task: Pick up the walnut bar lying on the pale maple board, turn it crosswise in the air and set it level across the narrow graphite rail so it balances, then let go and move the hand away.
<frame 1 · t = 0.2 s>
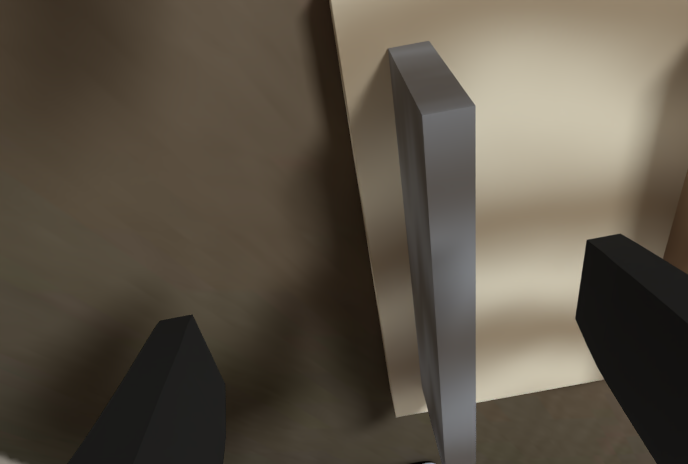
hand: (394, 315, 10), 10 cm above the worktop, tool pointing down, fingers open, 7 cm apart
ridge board: (564, 203, 22), on the worktop
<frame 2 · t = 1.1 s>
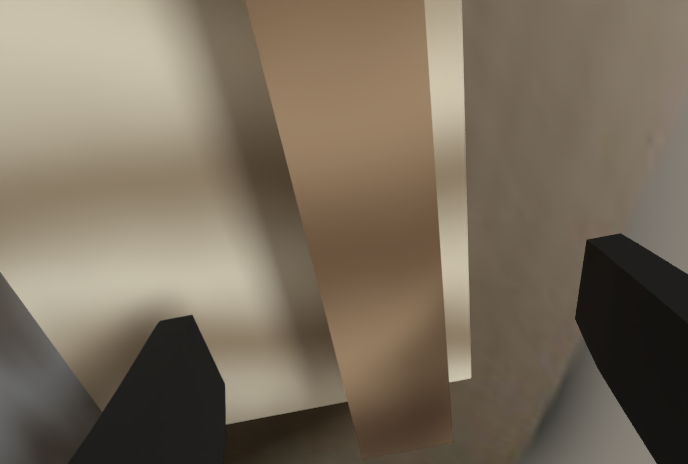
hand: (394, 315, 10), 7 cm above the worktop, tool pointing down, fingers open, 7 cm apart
walnut bar: (355, 167, 15), point 1 cm above the worktop, touching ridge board
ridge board: (180, 174, 16), on the worktop
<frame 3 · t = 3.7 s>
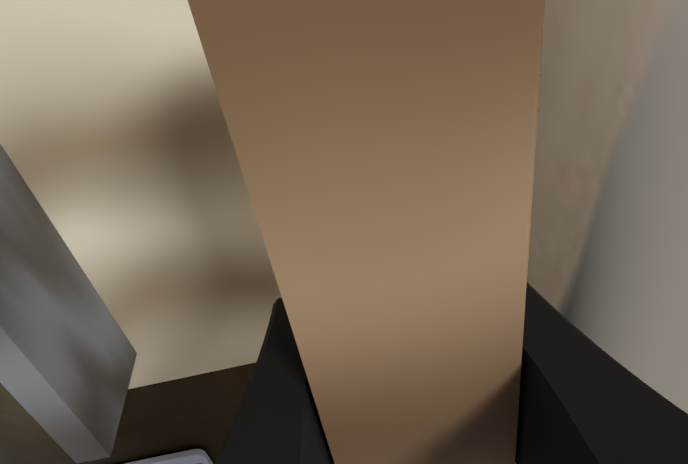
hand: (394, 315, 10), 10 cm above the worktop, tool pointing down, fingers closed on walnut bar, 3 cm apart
walnut bar: (384, 274, 11), point 9 cm above the worktop, touching gripper
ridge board: (202, 131, 18), on the worktop
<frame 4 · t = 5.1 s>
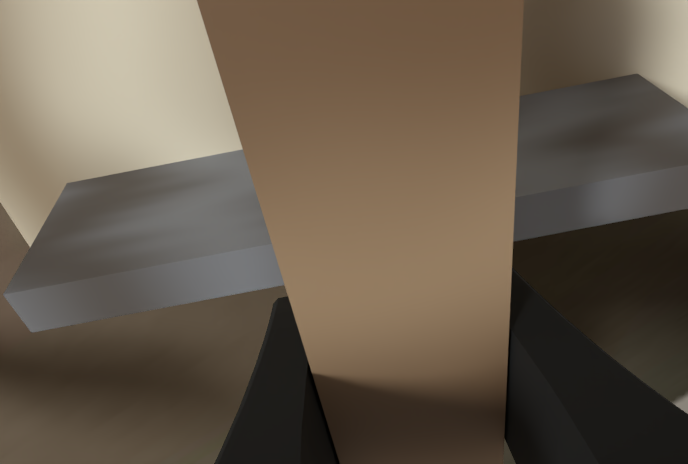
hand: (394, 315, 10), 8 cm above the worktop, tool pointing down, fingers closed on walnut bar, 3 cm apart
walnut bar: (382, 274, 12), point 7 cm above the worktop, touching gripper
when the fingers open (8 cm above the worktop, at t = 5.5 s): walnut bar stays where it is, resting on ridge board.
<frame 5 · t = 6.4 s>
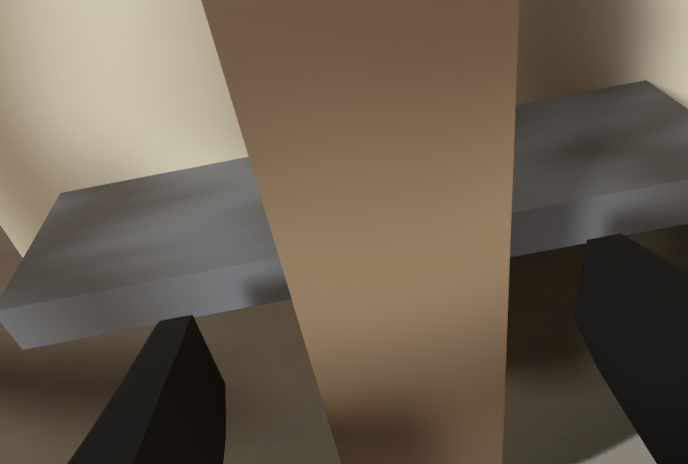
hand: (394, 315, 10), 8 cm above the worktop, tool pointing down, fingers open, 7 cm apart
walnut bar: (382, 271, 12), point 6 cm above the worktop, touching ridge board
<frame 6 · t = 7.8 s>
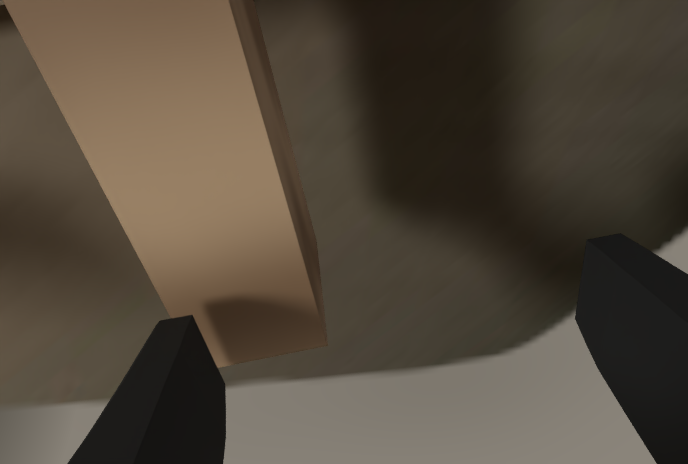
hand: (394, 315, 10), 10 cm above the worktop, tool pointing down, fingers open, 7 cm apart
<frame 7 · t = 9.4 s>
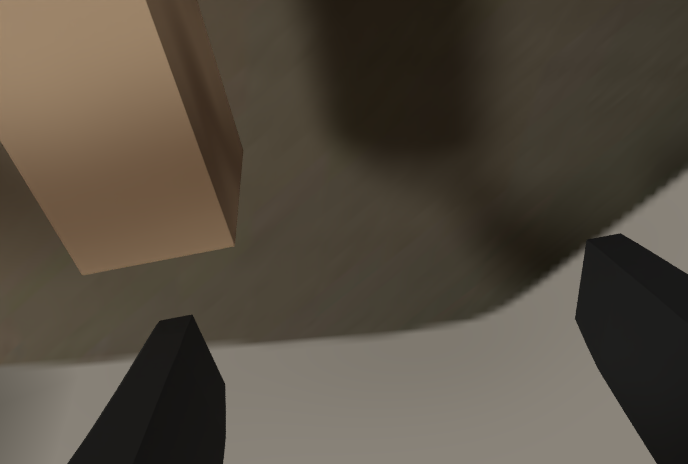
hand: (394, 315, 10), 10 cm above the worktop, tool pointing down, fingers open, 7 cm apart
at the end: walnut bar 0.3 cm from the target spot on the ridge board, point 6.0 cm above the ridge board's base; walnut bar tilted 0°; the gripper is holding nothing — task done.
